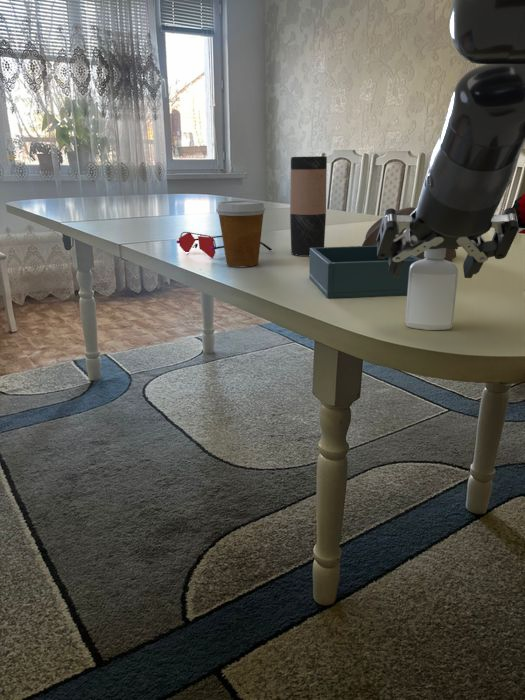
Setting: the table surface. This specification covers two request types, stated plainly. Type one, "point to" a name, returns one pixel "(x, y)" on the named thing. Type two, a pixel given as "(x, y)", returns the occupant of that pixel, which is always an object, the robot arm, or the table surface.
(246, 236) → the disposable coffee cup
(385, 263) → the bin
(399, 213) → the decorative dome
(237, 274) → the table surface
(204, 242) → the glasses
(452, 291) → the eye dropper bottle
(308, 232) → the travel mug
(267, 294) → the table surface
